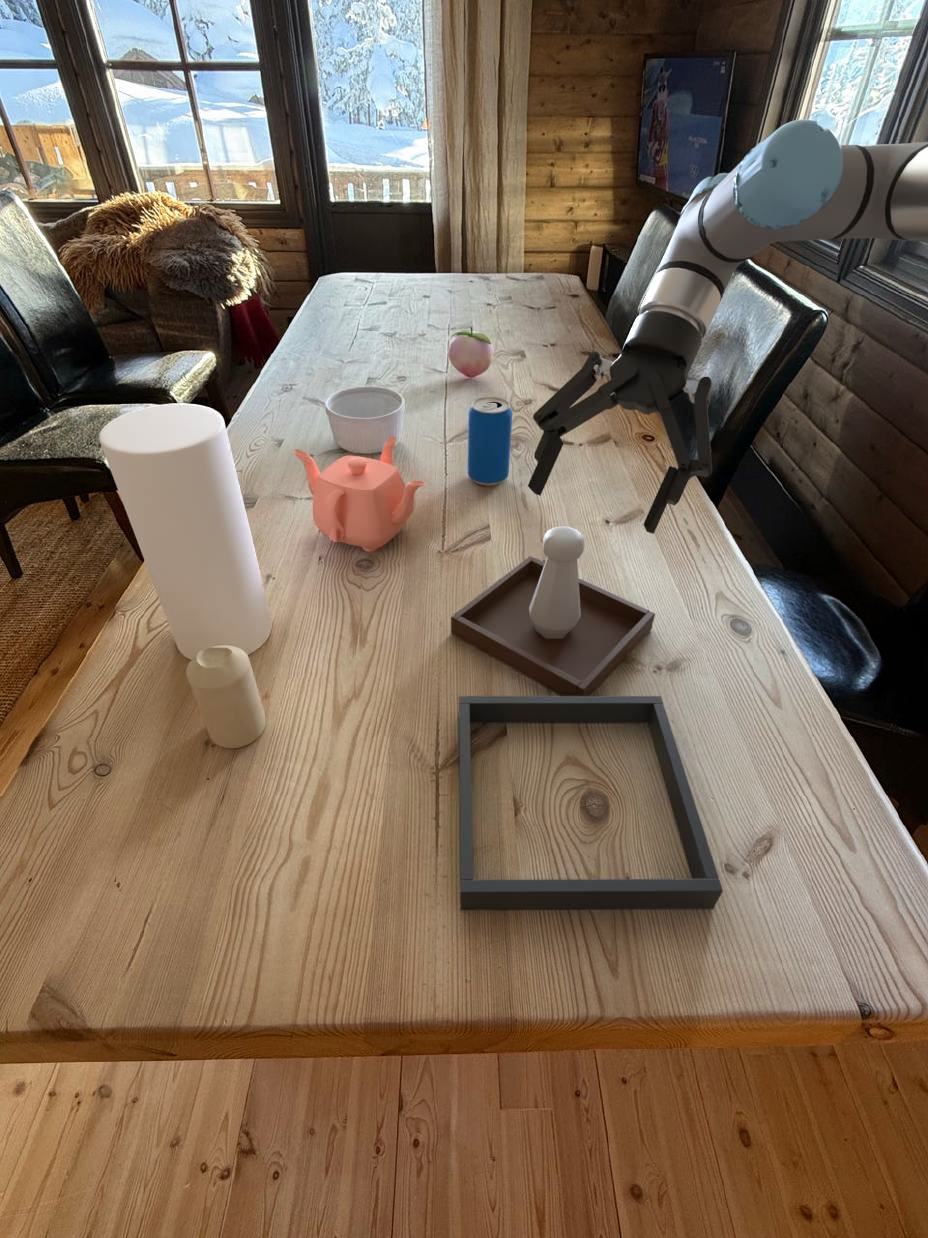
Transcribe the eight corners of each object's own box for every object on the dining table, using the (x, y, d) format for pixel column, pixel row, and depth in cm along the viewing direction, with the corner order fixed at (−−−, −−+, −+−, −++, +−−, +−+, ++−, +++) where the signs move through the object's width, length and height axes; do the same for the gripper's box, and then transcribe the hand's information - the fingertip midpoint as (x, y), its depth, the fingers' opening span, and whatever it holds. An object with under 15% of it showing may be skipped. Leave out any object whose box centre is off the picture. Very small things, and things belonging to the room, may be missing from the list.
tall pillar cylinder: (290, 632, 76) (245, 427, 60) (204, 678, 70) (129, 466, 54) (242, 590, 82) (189, 393, 65) (159, 630, 76) (79, 425, 60)
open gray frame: (654, 715, 67) (661, 695, 65) (713, 909, 52) (723, 891, 50) (459, 715, 67) (459, 695, 65) (460, 910, 52) (460, 892, 50)
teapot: (303, 515, 95) (291, 444, 88) (399, 499, 99) (395, 430, 92) (322, 572, 85) (311, 497, 78) (428, 551, 89) (426, 478, 81)
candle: (267, 703, 68) (248, 631, 61) (265, 745, 64) (243, 672, 57) (212, 709, 67) (186, 637, 60) (205, 752, 63) (177, 680, 56)
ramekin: (413, 453, 110) (411, 413, 105) (333, 462, 107) (328, 421, 103) (399, 420, 120) (397, 382, 115) (326, 427, 117) (321, 389, 113)
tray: (651, 630, 77) (655, 613, 75) (580, 707, 68) (584, 689, 66) (528, 571, 85) (529, 555, 84) (450, 633, 76) (450, 616, 75)
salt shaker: (537, 606, 79) (548, 513, 71) (583, 619, 77) (599, 526, 69) (520, 635, 75) (528, 540, 67) (568, 650, 73) (583, 555, 65)
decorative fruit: (499, 374, 137) (502, 323, 131) (484, 387, 132) (486, 336, 125) (458, 367, 140) (459, 317, 134) (442, 380, 135) (441, 329, 128)
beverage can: (516, 477, 104) (521, 404, 96) (489, 492, 101) (492, 417, 93) (486, 463, 107) (489, 391, 100) (459, 477, 104) (459, 404, 96)
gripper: (787, 370, 69) (704, 556, 69) (573, 325, 79) (502, 487, 80) (792, 330, 62) (699, 537, 62) (557, 287, 72) (479, 464, 73)
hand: (588, 509), depth 71 cm, fingers open, 13 cm apart
